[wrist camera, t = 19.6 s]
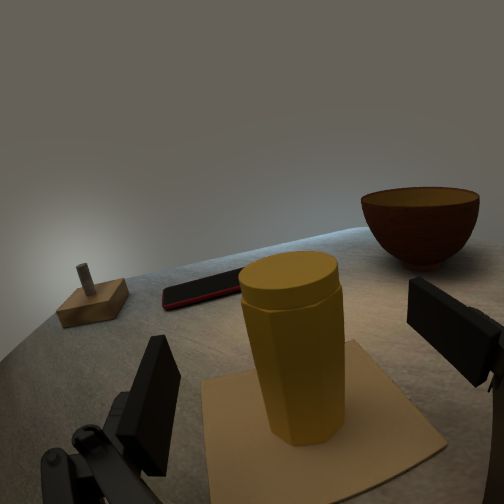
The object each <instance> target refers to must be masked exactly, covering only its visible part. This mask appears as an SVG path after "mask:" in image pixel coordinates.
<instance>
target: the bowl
mask: <svg viewBox="0 0 504 504" xmlns="http://www.w3.org/2000/svg"><path fill="white" fill-rule="evenodd" d="M361 204H362V210H363V213H364V217H365V219H366V222H367V224H368V226H369V228H370V230H371V232H372V233H373V235H374V237H375V238H376V240H377V241H378V242H379V244H380V245H381V246H382V247H383V248H384V249H385V250H386V251H387V252H388V253H390V254H391V255H393V256H394V257H396V258H398V259H400V260H402V261H404V266H405V267H407V268H409V269H412V270H416V271H431V270H435V269H438V268H439V267H441V265H442V261H444V260H446V259H448V258H450V257H452V256H453V255H455V254H456V253H457V252H459V251H460V250H461V249H462V248H463V246H464V245H465V244H466V242H467V240H468V239H469V237H470V236H471V233H472V231H473V229H474V226H475V224H476V221H477V217H478V212H479V204H480V199H479V195H478V194H477V193H475V192H473V191H469V190H464V189H458V188H448V187H447V188H446V187H412V188H411V187H410V188H398V189H390V190H384V191H379V192H374V193H371V194H368V195H365V196H363V197H362V198H361Z"/></svg>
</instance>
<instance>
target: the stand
mask: <svg viewBox="0 0 504 504" xmlns="http://www.w3.org/2000/svg"><path fill="white" fill-rule="evenodd" d="M76 269H77V272H78V275H79V278H80V281H81V284H82V288H78V289H77V290H76V291H75V292H74V293H73V294H72V295H71V296H70V297H69V298H68V299H67V300H66V301H65V302H64V303H63V304H62V305H61V306H60V307H59V308H58V309H57V311H56V313H57V315H58V317H59V320H60V322H61V324H62V327H63V328H65V327H71V326H77V325H83V324H88V323H94V322H99V321H105V320H110V319H115V318H116V316H117V314H118V313H119V311H120V309H121V307H122V305H123V303H124V302H125V300H126V298H127V296H128V294H129V291H128V288H127V285H126V282H125V279H124V278H121V279H117V280H112V281H109V282H104V283H99V284H95V285H94V284H93V281H92V278H91V275H90V272H89V269H88V265H87V263H83V264H80V265H78V266H76Z"/></svg>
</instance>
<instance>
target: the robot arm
mask: <svg viewBox="0 0 504 504" xmlns="http://www.w3.org/2000/svg"><path fill="white" fill-rule="evenodd" d="M407 323H408V324H409V325H410V326H411V327H412V328H413V329H414V330H415V331H417V332H418V333H419V334H420V335H421V336H422V337H423V338H424V339H425V340H426V341H427V342H429V343H430V344H431V345H432V346H433V347H434V348H435V349H436V350H437V351H438V352H439V353H440V354H441V355H442V356H443V357H444V358H445V359H447V360H448V361H449V362H450V363H451V364H452V365H453V366H454V367H455V368H456V369H457V370H458V371H459V372H460V373H461V374H462V375H463V376H464V377H465V378H466V379H467V380H468V381H469V382H470V383H471V384H472V385H473V386H474V387H475V388H476V387H477V386H479V385H480V384H482V383H483V382H485V381H486V380H487V377H488V374H489V372H490V371H492V372H493V373H494V375H493V378H492V381H491V383H490V386H489V388H488V392H490V390H491V388H493V423H492V441H491V453H490V462H489V469H488V476H487V482H486V488H485V493H484V498H483V503H482V504H504V326H502V325H501V324H499V323H498V322H496V321H495V320H493V319H492V318H491V319H490V317H489V316H487V315H485V314H484V313H483V312H481V311H480V310H478V309H476V308H473V307H467V306H466V305H464V304H462V303H461V302H459V301H458V300H456V299H455V298H453V297H452V296H450V295H448V294H447V293H445V292H444V291H442V290H441V289H439V288H437V287H436V286H434V285H433V284H431V283H429V282H428V281H426V280H424V279H423V278H421V277H416V278H413V279H410V280H409V290H408V311H407ZM180 379H181V375H180V373H179V370H178V368H177V365H176V363H175V360H174V358H173V355H172V352H171V350H170V347H169V344H168V342H167V339H166V336H165V335H158V336H151V338H150V340H149V343H148V345H147V348H146V350H145V353H144V356H143V358H142V361H141V363H140V366H139V369H138V371H137V374H136V376H135V379H134V382H133V385H132V387H131V390H130V391H129V392H121V393H120V394H119V395H118V396H117V397H116V398H115V399H114V401H113V404H112V406H111V410H110V411H109V414H108V416H107V419H106V422H105V424H104V427H103V429H101V428H100V427H99V426H97V425H94V424H92V425H85V426H82V427H81V428H79V429H78V430H76V432H75V433H74V434H73V437H72V445H73V446H74V447H75V448H76V450H77V451H78V452H79V453H78V454H73V455H68V454H67V453H66V452H65V451H64V450H63V449H61V448H52V449H49V450H48V451H46V452H45V453H44V455H43V456H42V458H41V482H42V496H43V504H105V501H104V498H103V497H106V499H107V500H108V502H109V504H163V503H162V502H161V501H160V500H159V499H158V497H157V496H156V495H155V494H154V493H153V492H152V490H151V489H150V488H149V487H148V485H147V484H146V483H145V482H144V481H143V479H142V478H141V477H140V476H141V471H142V470H143V471H144V472H145V473H146V475H147V476H159V477H166V472H167V464H168V456H169V449H170V442H171V435H172V428H173V422H174V415H175V409H176V403H177V397H178V391H179V385H180Z"/></svg>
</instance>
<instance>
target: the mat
mask: <svg viewBox="0 0 504 504" xmlns="http://www.w3.org/2000/svg"><path fill="white" fill-rule="evenodd" d="M201 391H202V408H203V423H204V436H205V449H206V460H207V470H208V480H209V489H210V498H211V504H335V503H338V502H340V501H343V500H346V499H348V498H351V497H353V496H356V495H358V494H360V493H363V492H365V491H367V490H370V489H372V488H374V487H376V486H378V485H380V484H382V483H384V482H387V481H389V480H391V479H392V478H394V477H396V476H398V475H400V474H402V473H404V472H406V471H408V470H409V469H411V468H413V467H415V466H416V465H418V464H420V463H421V462H423V461H425V460H426V459H428V458H430V457H431V456H433V455H434V454H436V453H437V452H439V451H441V450H442V449H444V448H445V447H446V446H447V445H448V442H447V441H446V440H445V439H444V438H443V437H442V436H441V434H440V433H439V432H438V431H437V430H436V429H435V428H434V427H433V426H432V424H431V423H430V422H429V421H428V420H427V419H426V418H425V417H424V415H423V414H422V413H421V412H420V411H419V410H418V409H417V408H416V407H415V405H414V404H413V403H412V402H411V401H410V400H409V399H408V398H407V397H406V395H405V394H404V393H403V392H402V391H401V390H400V389H399V388H398V387H397V386H396V384H395V383H394V382H393V381H392V380H391V379H390V378H389V377H388V376H387V375H386V374H385V372H384V371H383V370H382V369H381V368H380V367H379V366H378V365H377V364H376V363H375V362H374V360H373V359H372V358H371V357H370V356H369V355H368V354H367V353H366V352H365V351H364V350H363V349H362V347H361V346H360V345H359V344H358V343H357V342H356V341H355V340H351V341H348V342H345V413H344V424H343V425H342V426H341V427H340V428H339V429H338V430H337V431H336V432H335V433H334V434H333V435H332V436H331V437H330V438H329V439H328V440H327V441H326V442H325V443H318V444H311V445H302V446H292V445H290V444H289V443H287V442H285V441H284V440H282V439H281V438H279V437H278V436H277V435H275V434H274V433H272V432H271V429H270V425H269V421H268V417H267V413H266V409H265V405H264V401H263V396H262V392H261V388H260V384H259V380H258V376H257V371H256V369H254V370H250V371H245V372H241V373H237V374H232V375H228V376H223V377H219V378H214V379H209V380H204V381H201Z"/></svg>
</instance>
